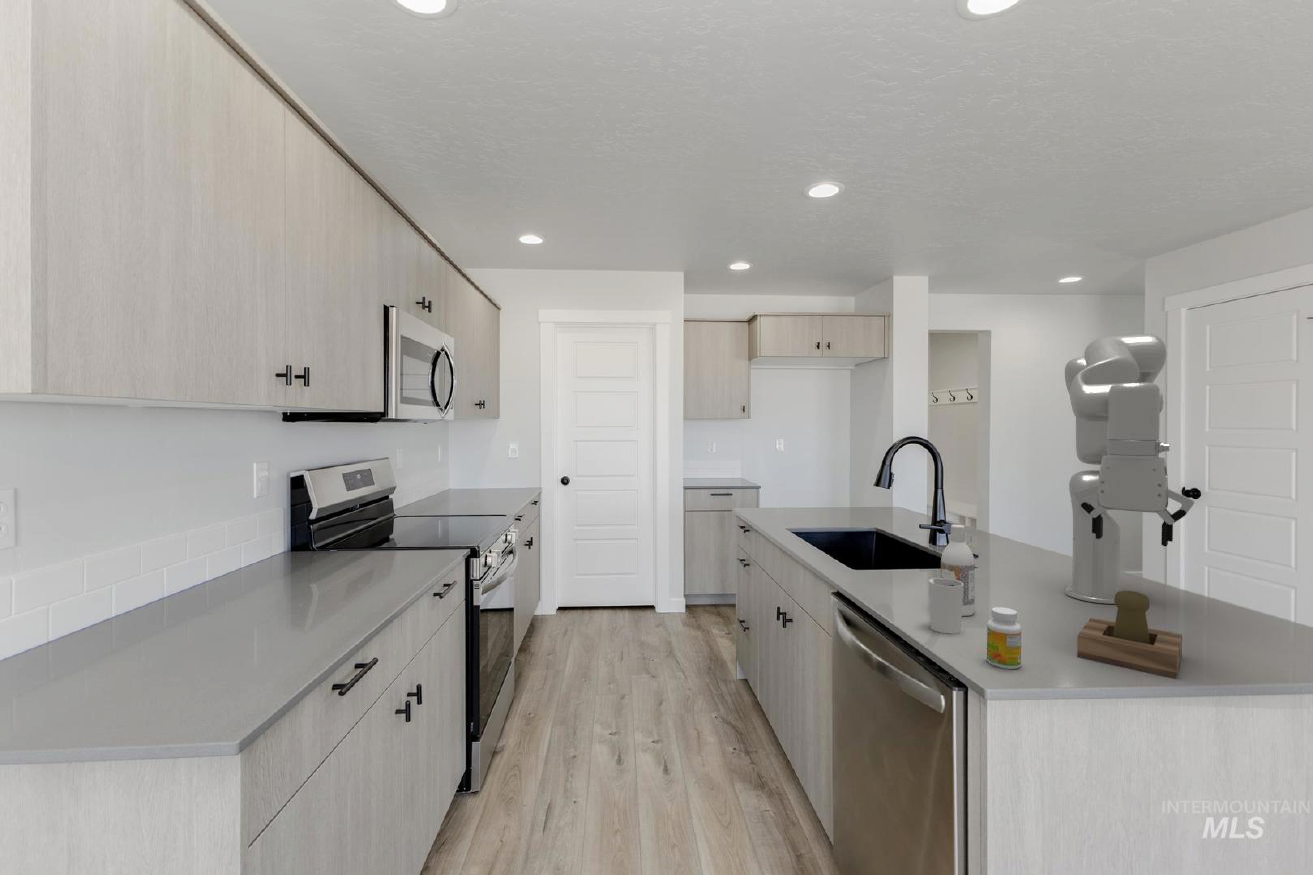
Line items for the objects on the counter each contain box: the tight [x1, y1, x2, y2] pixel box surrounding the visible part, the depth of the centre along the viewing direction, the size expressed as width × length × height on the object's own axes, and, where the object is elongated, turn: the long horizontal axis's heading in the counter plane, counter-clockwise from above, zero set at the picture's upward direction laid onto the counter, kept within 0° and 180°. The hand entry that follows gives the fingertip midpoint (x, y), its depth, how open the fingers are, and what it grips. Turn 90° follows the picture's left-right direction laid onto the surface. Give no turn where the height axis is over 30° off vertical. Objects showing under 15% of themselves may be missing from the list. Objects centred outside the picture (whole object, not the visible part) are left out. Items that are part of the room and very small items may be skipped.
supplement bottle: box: [986, 606, 1022, 670], centre depth 109 cm, size 5×5×10 cm
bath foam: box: [940, 524, 976, 617], centre depth 138 cm, size 7×7×20 cm
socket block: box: [1076, 617, 1183, 679], centre depth 112 cm, size 14×14×4 cm
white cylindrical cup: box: [928, 577, 964, 635], centre depth 127 cm, size 7×7×10 cm
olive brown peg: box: [1113, 590, 1151, 644], centre depth 112 cm, size 6×6×11 cm
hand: (1130, 541), depth 112 cm, fingers open, 9 cm apart
